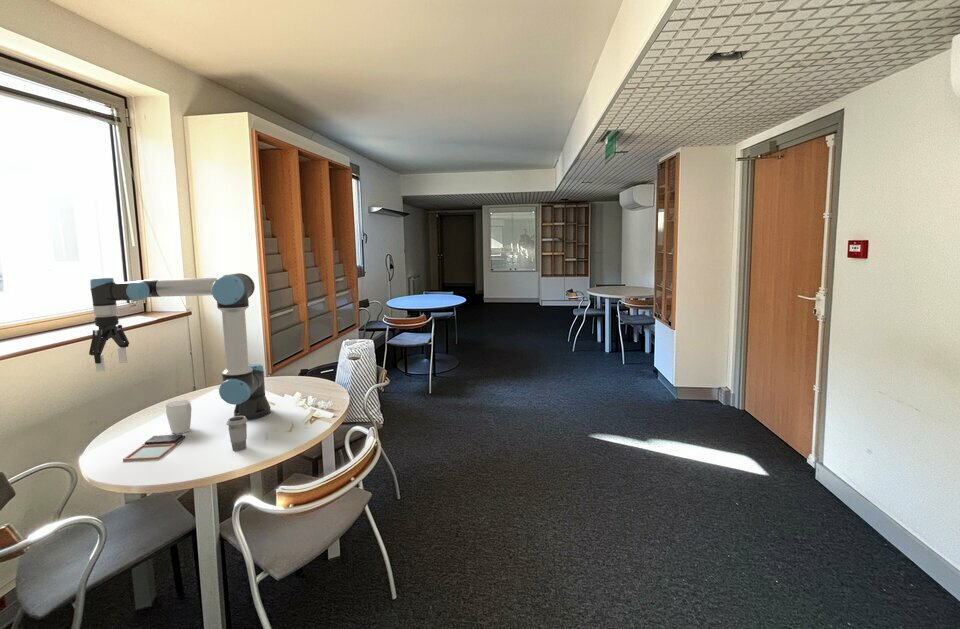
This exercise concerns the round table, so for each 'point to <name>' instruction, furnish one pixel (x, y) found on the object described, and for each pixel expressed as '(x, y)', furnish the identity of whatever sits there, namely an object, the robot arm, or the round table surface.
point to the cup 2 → (238, 432)
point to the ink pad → (165, 439)
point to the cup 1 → (179, 416)
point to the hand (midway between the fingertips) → (112, 366)
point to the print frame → (149, 452)
